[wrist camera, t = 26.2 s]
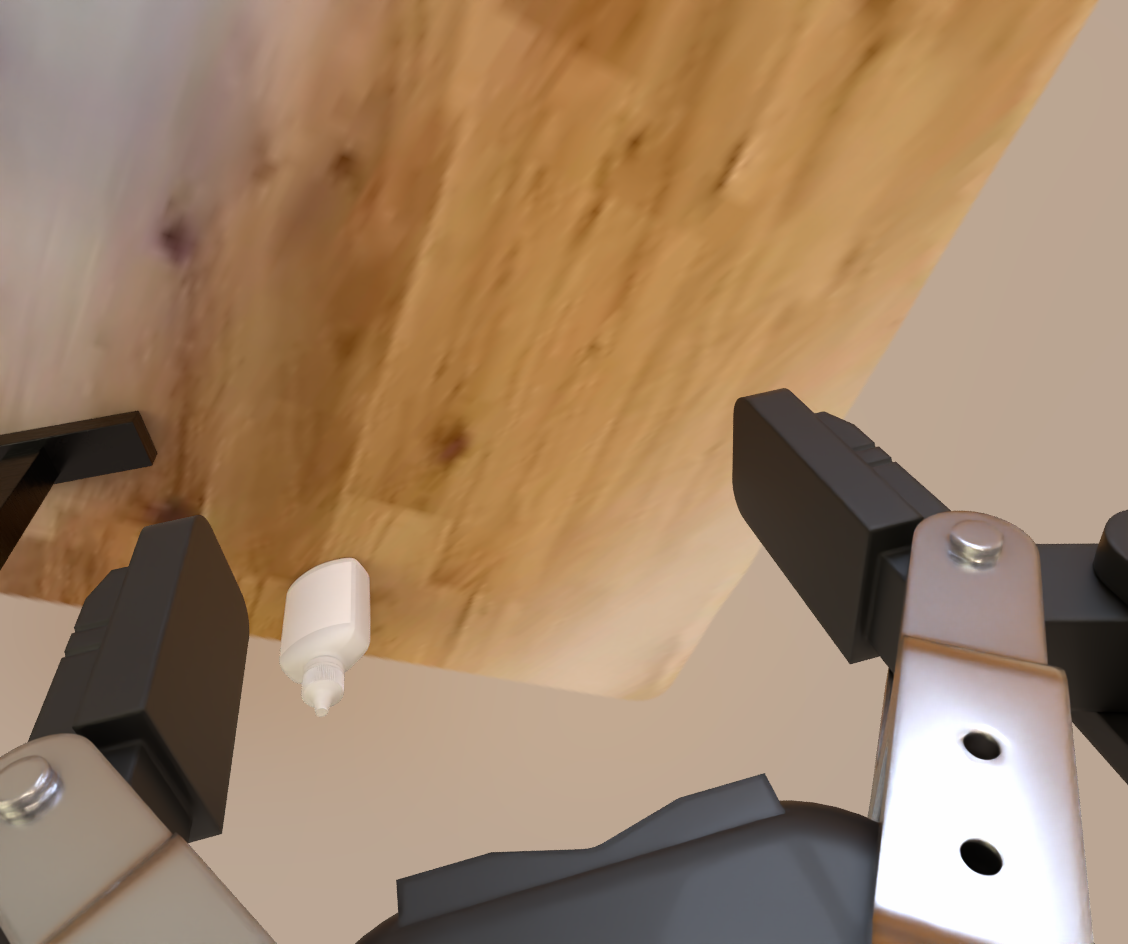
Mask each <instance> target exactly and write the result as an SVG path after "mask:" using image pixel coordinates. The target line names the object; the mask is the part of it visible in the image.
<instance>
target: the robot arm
mask: <svg viewBox="0 0 1128 944" xmlns="http://www.w3.org/2000/svg"><path fill="white" fill-rule="evenodd" d="M732 483H733V491H734V496H735V500H736V503H737V506H738V509H739V511H740V513H741V515H742V517H743V518H744V520H745V521H746V523H747V524H748V525H749V527H750V528H751V529H752V531H753V532H754V534H755V535H756V536H757V538H758V539H759V540H760V542H761V543H762V544H763V546H764V547H765V548H766V550H767V551H768V553H769V554H770V555H771V557H772V558H773V559H774V561H775V562H776V563H777V565H778V566H779V568H780V569H781V570H782V572H783V573H784V575H785V576H786V577H787V578H788V580H789V581H790V583H791V584H792V586H793V587H794V588H795V589H796V591H797V592H798V594H799V595H800V596H801V598H802V599H803V600H804V602H805V603H806V605H807V606H808V607H809V609H810V610H811V612H812V613H813V614H814V616H815V617H816V618H817V620H818V621H819V622H820V624H821V625H822V627H823V628H824V629H825V631H826V632H827V633H828V635H829V636H830V637H831V639H832V640H833V641H834V643H835V644H836V646H837V647H838V648H839V650H840V651H841V653H842V654H843V655H844V657H845V658H846V659H847V661H848V662H849V663H850V664H853V663H857V662H861V661H864V660H868V659H872V658H875V657H879V656H880V657H881V658H882V659H883V661H884V662H885V663H886V665H887V666H888V667H889V668H888V673H887V679H886V685H885V692H884V700H883V708H882V716H881V723H880V732H879V739H878V747H877V754H876V762H875V769H874V778H873V785H872V792H871V799H870V806H869V812H868V818H867V817H864V816H862V815H860V814H856V813H853V812H850V811H847V810H844V809H841V808H837V807H833V806H828V805H823V804H818V803H813V802H802V801H779V800H778V798H777V796H776V794H775V792H774V790H773V788H772V786H771V785H770V783H769V781H768V779H767V777H766V775H765V773H764V774H760V775H757V776H753V777H750V778H746V779H743V780H740V781H736V782H733V783H729V784H726V785H722V786H719V787H715V788H712V789H708V790H705V791H702V792H698V793H695V794H691V795H688V796H684V797H681V798H678V799H676V800H675V801H673V802H672V803H670V804H668V805H666V806H665V807H663V808H661V809H660V810H658V811H656V812H654V813H653V814H651V815H650V816H648V817H646V818H645V819H643V820H641V821H639V822H638V823H636V824H634V825H633V826H631V827H629V828H628V829H626V830H624V831H623V832H621V833H619V834H618V835H616V836H614V837H613V838H611V839H609V840H607V841H606V842H604V843H602V844H600V845H598V846H596V847H593V848H589V849H575V850H548V851H519V852H491V853H488V854H485V855H481V856H477V857H474V858H471V859H467V860H464V861H460V862H457V863H453V864H450V865H447V866H443V867H439V868H436V869H433V870H429V871H426V872H422V873H419V874H415V875H412V876H408V877H405V878H402V879H398V880H396V882H397V898H398V913H396V914H395V915H393V916H392V917H390V918H388V919H387V920H385V921H383V922H382V923H381V924H379V925H378V926H377V927H375V928H374V929H373V930H371V931H370V932H369V933H367V934H366V935H365V936H363V937H362V938H361V939H360V940H359V941H358V942H357V943H355V944H1094V942H1093V932H1092V922H1091V911H1090V901H1089V892H1088V881H1087V871H1086V861H1085V850H1084V840H1083V830H1082V821H1081V810H1080V799H1079V789H1078V779H1077V769H1076V759H1075V750H1074V740H1073V728H1072V722H1073V723H1074V724H1075V726H1076V727H1077V728H1078V729H1079V730H1080V731H1081V732H1082V734H1083V735H1084V736H1085V737H1086V738H1087V739H1088V740H1089V741H1090V742H1091V744H1092V745H1093V746H1094V747H1095V748H1096V749H1097V750H1098V752H1099V753H1100V754H1101V755H1102V756H1103V757H1104V758H1105V760H1107V762H1108V763H1109V764H1110V765H1111V766H1112V767H1113V769H1114V770H1115V771H1116V772H1117V773H1118V774H1119V775H1120V776H1121V778H1122V779H1123V780H1124V781H1125V782H1126V783H1127V784H1128V510H1126V511H1122V512H1119V513H1117V514H1115V515H1114V516H1112V517H1111V518H1110V519H1109V520H1108V522H1107V523H1106V525H1105V528H1104V531H1103V534H1102V536H1101V539H1100V542H1099V544H1035V542H1034V541H1033V540H1032V539H1031V538H1030V536H1028V535H1027V534H1026V533H1025V532H1024V531H1023V530H1021V529H1020V528H1018V527H1017V526H1015V525H1013V524H1011V523H1009V522H1007V521H1005V520H1003V519H1000V518H998V517H995V516H991V515H988V514H984V513H978V512H972V511H951V510H950V509H948V508H947V507H946V506H945V505H944V504H943V503H942V502H941V501H939V500H938V499H937V498H936V497H935V496H934V495H933V494H931V493H930V492H929V491H928V490H927V489H926V488H925V487H924V486H922V485H921V484H920V483H919V482H918V481H917V480H916V479H915V478H913V477H912V476H911V475H910V474H909V473H908V472H907V471H906V470H905V469H903V468H902V467H901V466H900V465H899V464H898V463H897V462H892V459H891V457H890V456H889V455H888V454H887V453H886V452H884V451H883V450H882V449H881V448H880V447H875V443H874V442H873V441H872V440H871V439H870V438H869V437H867V436H866V435H865V434H864V433H863V432H862V431H861V430H860V429H859V428H857V427H856V426H855V425H854V424H851V423H849V422H847V421H845V420H842V419H840V418H838V417H836V416H833V415H831V414H829V413H826V412H819V413H815V414H814V413H813V412H812V411H811V410H810V409H809V408H808V407H807V406H806V405H805V404H804V403H803V402H802V401H801V400H800V399H798V398H797V397H796V396H795V395H794V394H793V393H792V392H791V391H790V390H788V389H786V388H782V389H778V390H773V391H769V392H764V393H760V394H755V395H751V396H746V397H741V398H739V399H738V400H737V401H736V403H735V406H734V415H733V472H732ZM74 629H75V633H72V634H71V636H70V639H69V641H68V644H67V646H66V649H65V657H64V658H62V659H61V661H60V664H59V666H58V669H57V671H56V674H55V676H54V678H53V681H52V684H51V686H50V688H49V691H48V693H47V696H46V699H45V701H44V703H43V706H42V708H41V711H40V713H39V716H38V718H37V721H36V723H35V725H34V728H33V730H32V733H31V735H30V738H29V740H28V742H27V743H25V744H23V745H21V746H19V747H17V748H15V749H13V750H11V751H10V752H8V753H6V754H5V755H3V756H1V757H0V944H277V943H276V942H275V941H274V940H273V939H272V937H271V936H270V935H269V934H268V933H267V932H266V931H265V930H264V929H263V927H262V926H261V925H260V924H259V923H258V922H257V921H256V919H255V918H254V917H253V916H252V915H251V914H250V913H249V912H248V911H247V909H246V908H245V907H244V906H243V905H242V904H241V903H240V902H239V900H238V899H237V898H236V897H235V896H234V895H233V894H232V892H231V891H230V890H229V889H228V888H227V887H226V886H225V885H224V883H223V882H222V881H221V880H220V879H219V878H218V877H217V876H216V875H215V873H214V872H213V871H212V870H211V869H210V868H209V867H208V866H207V864H206V863H205V862H204V861H203V860H202V859H201V858H200V856H199V855H198V854H197V853H196V852H195V851H194V850H193V849H192V848H191V846H190V845H189V844H188V843H190V842H193V841H197V840H201V839H205V838H208V837H212V836H216V835H219V834H222V829H223V822H224V815H225V808H226V800H227V792H228V785H229V778H230V771H231V764H232V757H233V749H234V742H235V735H236V728H237V720H238V713H239V706H240V699H241V691H242V684H243V676H244V670H245V662H246V654H247V647H248V641H249V620H248V613H247V609H246V605H245V601H244V598H243V595H242V593H241V591H240V588H239V586H238V584H237V582H236V580H235V578H234V575H233V573H232V571H231V569H230V567H229V565H228V562H227V560H226V558H225V556H224V554H223V552H222V549H221V547H220V545H219V543H218V541H217V539H216V536H215V534H214V532H213V530H212V528H211V526H210V524H209V522H208V521H207V520H206V518H205V517H203V516H202V515H196V516H192V517H187V518H183V519H178V520H173V521H169V522H164V523H160V524H155V525H151V526H146V527H144V528H143V529H142V531H141V533H140V535H139V538H138V541H137V544H136V547H135V550H134V552H133V555H132V558H131V561H130V564H129V566H128V567H124V568H119V569H115V570H111V572H110V573H109V574H108V575H107V576H106V577H105V578H104V579H103V580H102V581H101V583H100V584H99V585H98V586H97V587H96V588H95V589H94V590H93V591H92V592H91V594H90V595H89V596H88V597H87V598H86V599H85V602H84V604H83V607H82V609H81V612H80V614H79V617H78V619H77V622H76V624H75V627H74Z"/></svg>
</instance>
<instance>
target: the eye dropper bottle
mask: <svg viewBox="0 0 1128 944" xmlns="http://www.w3.org/2000/svg"><path fill="white" fill-rule="evenodd" d="M369 644H370V578H369V575H368V573H367V572H366V570H365V569H364V568H363V567H362V565H361V564H360V563H359V562H358V561H357V560H356V559H354V558H342V559H337V560H332V561H329V562H326V563H323V564H320V565H318V566H316V567H314V568H312V569H310V570H309V571H307V572H306V573H304V574H303V575H302V576H300V577H299V578H298V579H297V580H296V581H295V582H294V583H293V584H292V585H291V587H290V588H289V589H288V592H287V596H286V604H285V613H284V621H283V629H282V638H281V648H280V661H279V662H280V666H281V669H282V670H283V672H284V673H285V674H286V675H287V676H288V677H289V678H290V679H291V680H292V681H294V682H296V683H300V684H302V691H301V694H302V695H301V696H302V699H303V701H304V702H305V703H306V704H308V705H309V706H311V707H314V708H315V713H316V715H317V716H319V717H323V716H326V715H327V714H328V711H329V707H331V706H334V705H335V704H337V703H338V702H339V701H340V700H341V699H342V697H343V695H344V673H345V672H346V671H348V670H349V669H350V668H351V667H352V666H354V665H355V664H356V663H357V662H358V661H359V660H360V658H361V657H362V656H363V655H364V654H365V652H366V651H367V649H368V647H369Z"/></svg>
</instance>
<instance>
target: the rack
mask: <svg viewBox="0 0 1128 944" xmlns="http://www.w3.org/2000/svg"><path fill="white" fill-rule="evenodd" d="M156 455H157V451H156V449H155V447H154V445H153V442H152V440H151V438H150V436H149V433H148V431H147V429H146V427H145V424H144V422H143V420H142V418H141V415H140V413H139V411H134V412H128V413H123V414H117V415H111V416H106V417H100V418H94V419H89V420H83V421H77V422H72V423H66V424H61V425H55V426H49V427H44V428H38V429H32V430H27V431H21V432H16V433H10V434H4V435H0V570H1V568H2V567H3V565H4V564H5V562H6V560H7V559H8V557H9V555H10V554H11V552H12V551H13V549H14V547H15V546H16V544H17V542H18V541H19V539H20V538H21V536H22V534H23V533H24V531H25V529H26V528H27V526H28V525H29V523H30V521H31V520H32V518H33V517H34V515H35V513H36V512H37V510H38V508H39V507H40V505H41V504H42V502H43V500H44V499H45V497H46V495H47V494H48V492H49V491H50V489H51V487H52V486H53V484H57V483H62V482H67V481H73V480H78V479H84V478H89V477H94V476H100V475H105V474H110V473H116V472H121V471H126V470H132V469H137V468H142V467H148V466H152V465H153V462H154V460H155V458H156Z"/></svg>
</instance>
